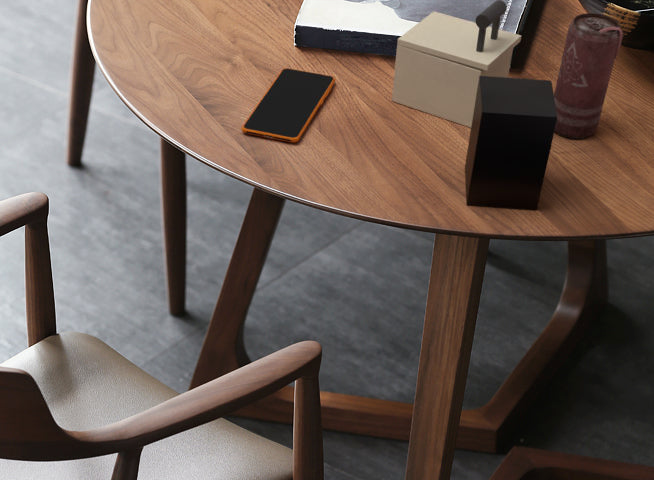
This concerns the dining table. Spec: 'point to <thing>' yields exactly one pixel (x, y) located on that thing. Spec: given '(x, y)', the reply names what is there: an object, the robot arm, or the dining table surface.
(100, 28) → the dining table surface
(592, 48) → the can
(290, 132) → the smartphone
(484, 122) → the stand
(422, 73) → the beige box
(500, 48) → the lid
